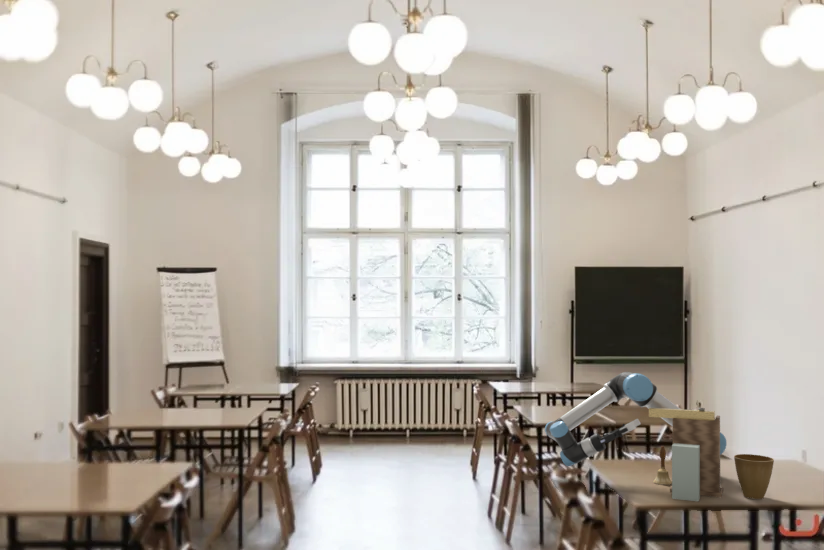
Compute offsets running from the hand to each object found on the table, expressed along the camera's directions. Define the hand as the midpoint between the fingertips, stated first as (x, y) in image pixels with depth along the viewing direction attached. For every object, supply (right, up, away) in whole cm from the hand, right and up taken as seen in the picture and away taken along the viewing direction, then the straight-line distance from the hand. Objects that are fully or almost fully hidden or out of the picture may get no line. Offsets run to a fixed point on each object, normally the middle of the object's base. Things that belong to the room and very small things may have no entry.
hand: (637, 423), depth 341 cm
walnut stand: (+22, -27, -11) cm, 36 cm away
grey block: (+13, -26, -23) cm, 37 cm away
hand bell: (+13, -27, +6) cm, 31 cm away
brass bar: (+17, +3, -7) cm, 18 cm away
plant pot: (+42, -27, -19) cm, 53 cm away
